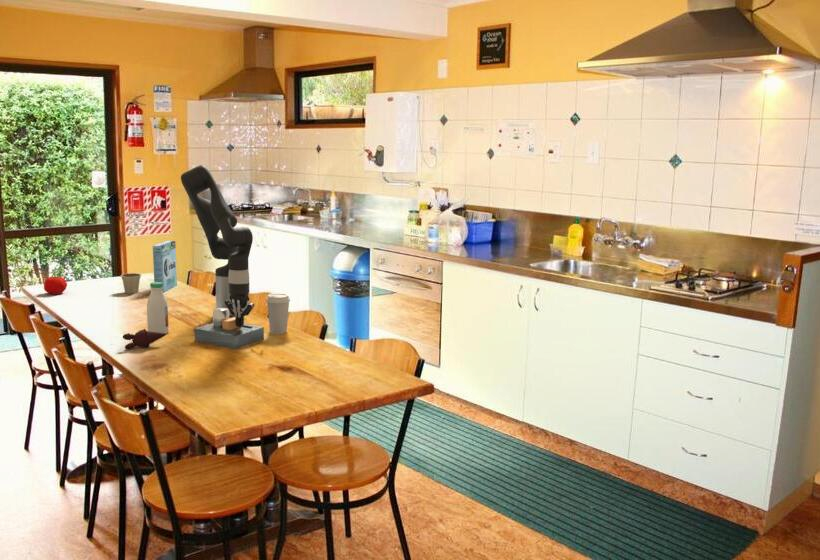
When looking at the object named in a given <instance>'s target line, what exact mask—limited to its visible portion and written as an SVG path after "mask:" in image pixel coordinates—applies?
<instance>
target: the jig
mask: <svg viewBox="0 0 820 560" xmlns="http://www.w3.org/2000/svg"><path fill="white" fill-rule="evenodd" d="M193 330H194V334H193V336H194V342H196V341H197V343H201V344H206V345H211V346H217V347H221V348H227V349H231V350H238V349H241V348H244V347H247V346H250V345H253V344H256V343H259V342H262V341H264V340H265V327H263V326H259V325H255V324H254V325H253V324H247V323H244V325H243V326H242V327H239V328H235V329H232V330H228V329H223V328H215V327H213V322H212V323H208V324H205V325H201V326H198V327H195V328H193Z"/></svg>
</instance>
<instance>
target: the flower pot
mask: <svg viewBox="0 0 820 560" xmlns="http://www.w3.org/2000/svg"><path fill="white" fill-rule="evenodd" d="M141 276H142V274H141V273H136V272H135V273H134V272H131V273H123V274H121V275H120V277H121V280H122V284H123V290H124V294H128V295H129V294H138V293H139V289H140V280H141Z"/></svg>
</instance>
